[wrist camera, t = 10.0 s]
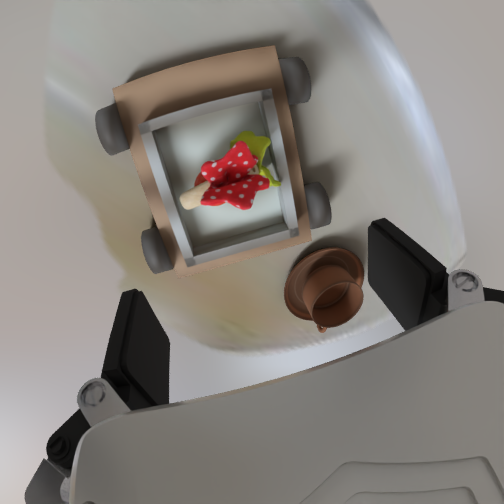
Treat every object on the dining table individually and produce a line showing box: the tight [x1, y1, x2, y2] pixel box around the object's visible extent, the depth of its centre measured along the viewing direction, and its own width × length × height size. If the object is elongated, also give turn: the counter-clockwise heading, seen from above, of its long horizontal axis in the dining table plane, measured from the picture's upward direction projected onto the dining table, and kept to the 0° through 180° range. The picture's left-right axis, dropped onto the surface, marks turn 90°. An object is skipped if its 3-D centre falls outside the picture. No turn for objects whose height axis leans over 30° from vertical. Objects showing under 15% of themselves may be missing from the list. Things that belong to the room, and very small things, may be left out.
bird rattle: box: [180, 131, 281, 210], centre depth 23 cm, size 6×11×9 cm
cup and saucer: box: [284, 247, 364, 333], centre depth 38 cm, size 12×12×6 cm
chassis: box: [95, 45, 331, 278], centre depth 28 cm, size 22×20×6 cm
